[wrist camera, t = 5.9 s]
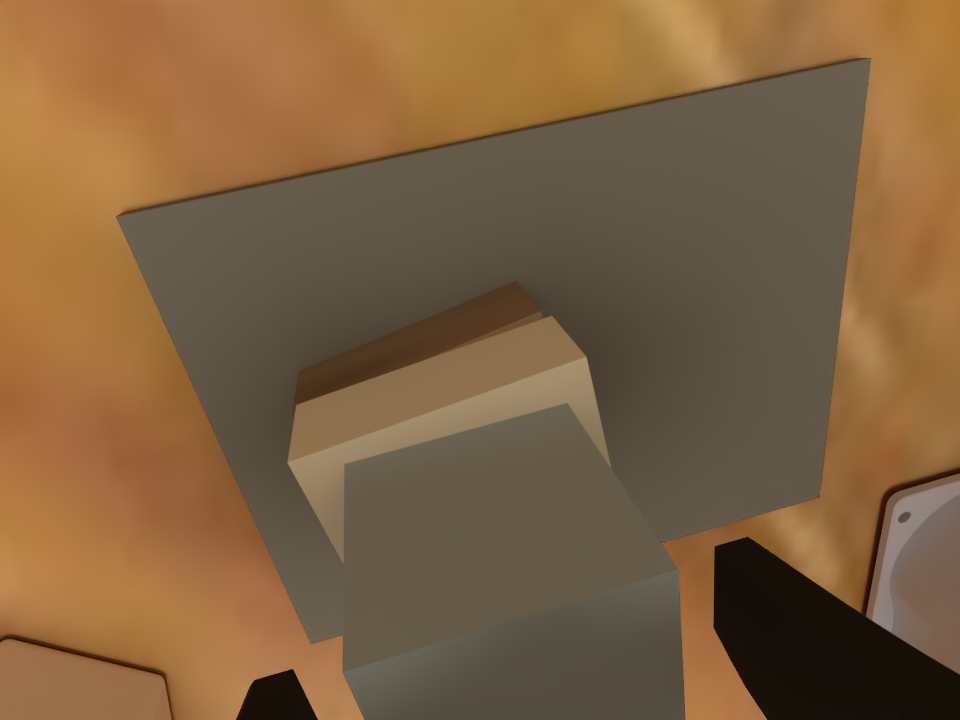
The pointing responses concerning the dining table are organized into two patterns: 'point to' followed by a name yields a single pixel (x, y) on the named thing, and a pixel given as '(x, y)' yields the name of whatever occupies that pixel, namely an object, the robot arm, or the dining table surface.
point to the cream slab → (437, 407)
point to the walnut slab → (420, 341)
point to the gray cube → (506, 582)
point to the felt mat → (546, 292)
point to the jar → (75, 687)
